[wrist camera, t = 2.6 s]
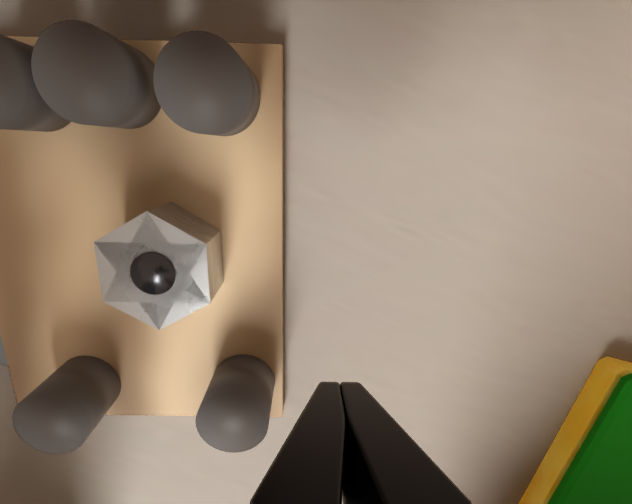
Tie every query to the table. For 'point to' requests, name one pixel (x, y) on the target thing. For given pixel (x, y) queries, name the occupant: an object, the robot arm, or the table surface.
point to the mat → (2, 354)
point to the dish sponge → (591, 444)
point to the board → (126, 204)
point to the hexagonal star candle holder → (160, 265)
